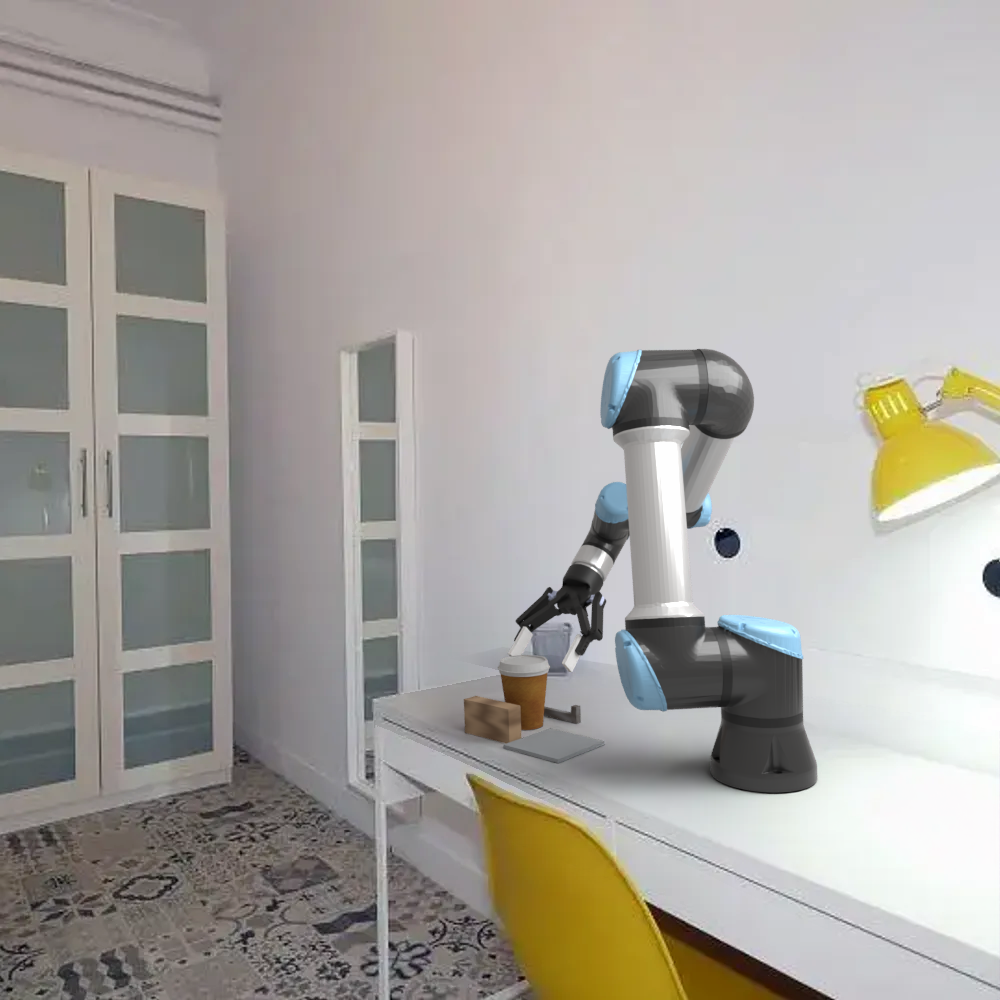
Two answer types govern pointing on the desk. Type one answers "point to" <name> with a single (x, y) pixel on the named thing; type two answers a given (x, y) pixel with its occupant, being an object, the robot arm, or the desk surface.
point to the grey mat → (554, 745)
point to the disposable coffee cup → (525, 686)
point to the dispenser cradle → (504, 718)
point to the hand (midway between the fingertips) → (538, 663)
